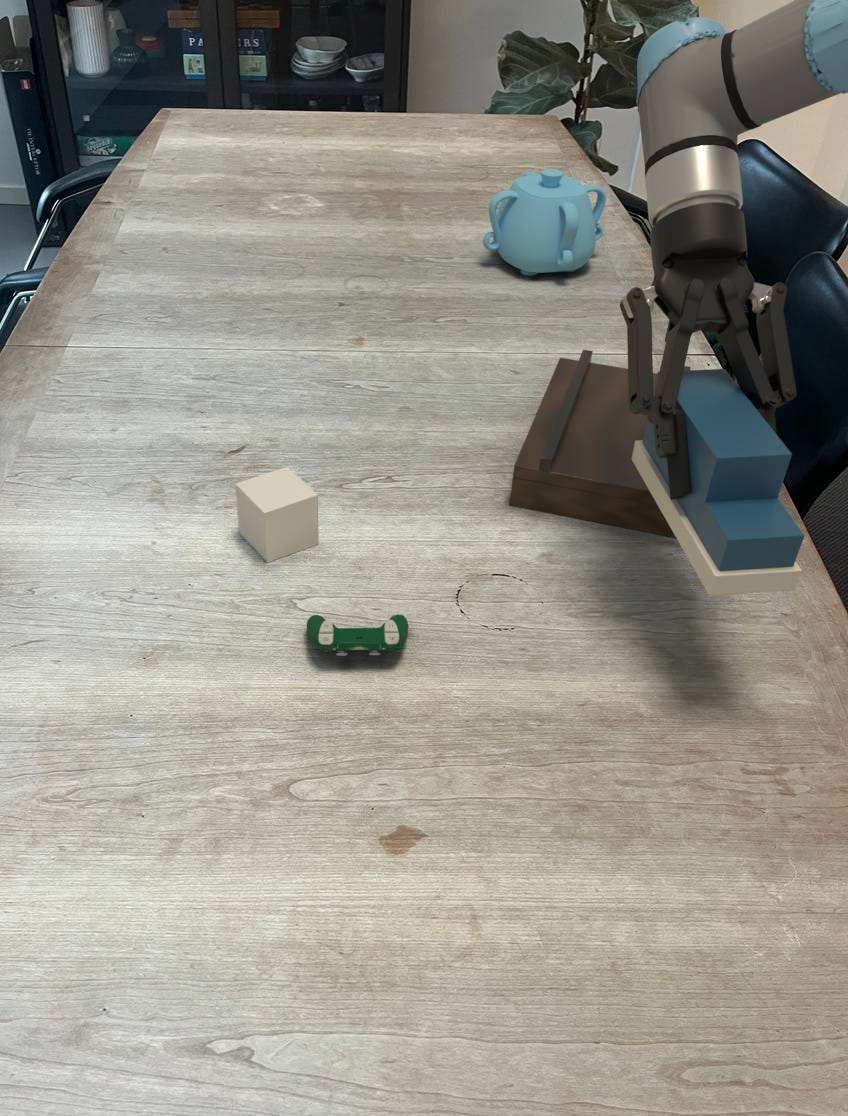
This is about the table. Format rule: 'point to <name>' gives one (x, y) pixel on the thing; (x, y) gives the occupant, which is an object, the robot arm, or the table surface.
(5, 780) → the table surface
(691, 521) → the trainer
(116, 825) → the table surface
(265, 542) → the beige cube
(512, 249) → the decorative pot
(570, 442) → the shoe shelf
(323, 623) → the gaming controller
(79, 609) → the table surface
